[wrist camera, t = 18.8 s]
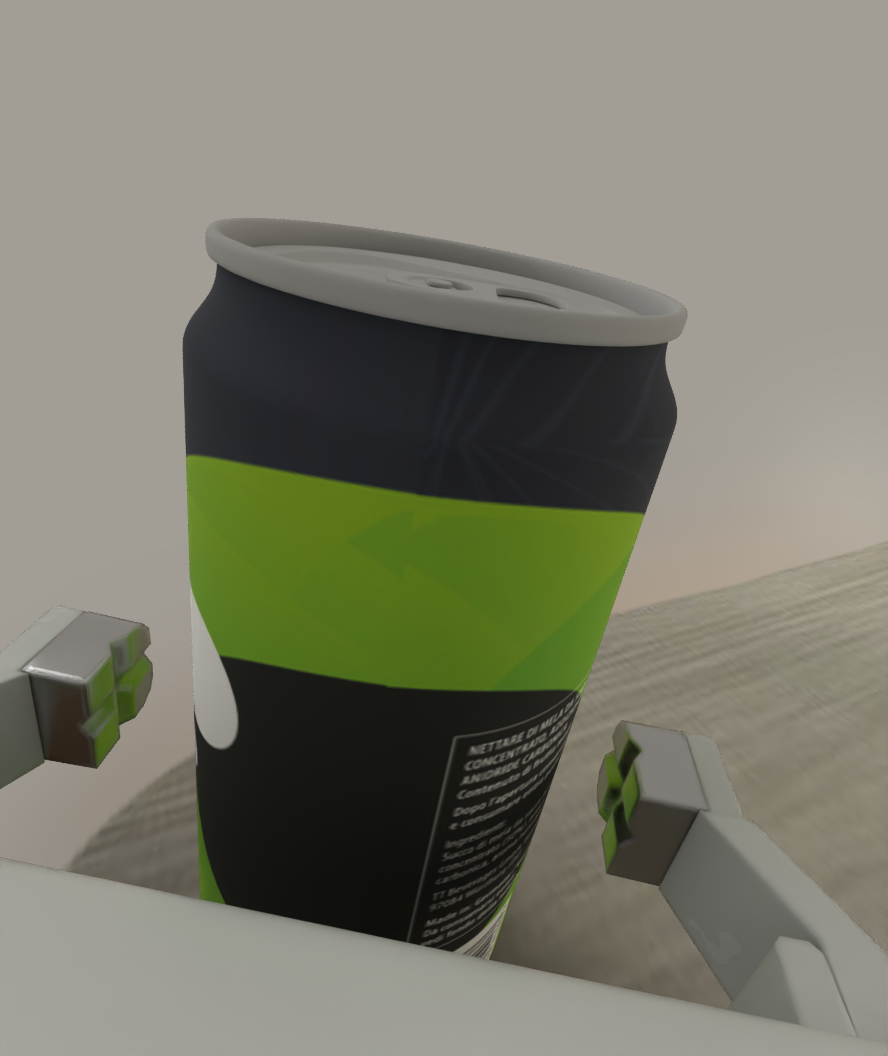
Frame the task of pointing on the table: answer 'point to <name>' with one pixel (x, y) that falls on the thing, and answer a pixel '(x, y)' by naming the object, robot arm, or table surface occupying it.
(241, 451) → the beverage can
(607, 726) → the table surface
